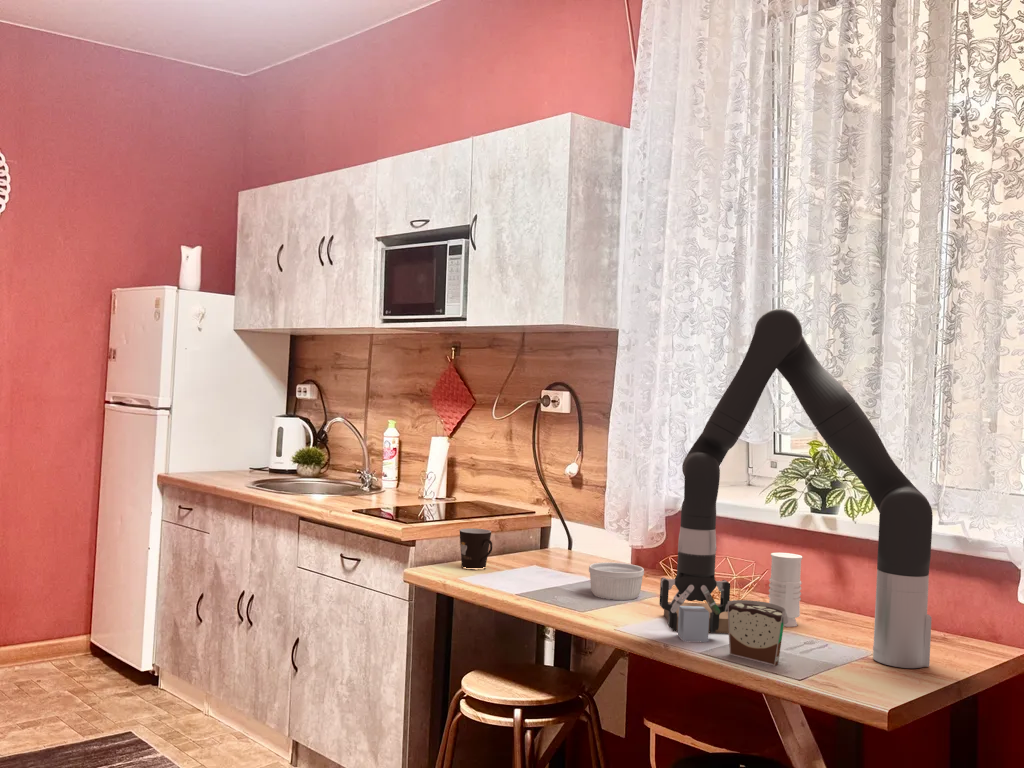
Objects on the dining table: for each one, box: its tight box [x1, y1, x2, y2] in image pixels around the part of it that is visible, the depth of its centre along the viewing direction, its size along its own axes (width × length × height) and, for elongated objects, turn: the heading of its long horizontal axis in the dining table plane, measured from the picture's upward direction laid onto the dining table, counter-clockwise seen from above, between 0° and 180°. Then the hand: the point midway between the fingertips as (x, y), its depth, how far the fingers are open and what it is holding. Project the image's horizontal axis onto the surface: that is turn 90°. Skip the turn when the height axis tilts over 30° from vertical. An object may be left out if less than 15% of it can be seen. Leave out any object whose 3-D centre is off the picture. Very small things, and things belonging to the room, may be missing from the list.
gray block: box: [677, 606, 709, 643], centre depth 192 cm, size 5×5×6 cm
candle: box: [768, 552, 803, 628], centre depth 209 cm, size 7×7×15 cm
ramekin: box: [588, 561, 645, 601], centre depth 229 cm, size 13×13×7 cm
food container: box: [725, 599, 788, 667], centre depth 180 cm, size 12×6×10 cm, turn 48°
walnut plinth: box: [663, 601, 729, 634], centre depth 204 cm, size 14×14×3 cm
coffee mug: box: [459, 527, 493, 568], centre depth 254 cm, size 12×9×10 cm
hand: (692, 631), depth 191 cm, fingers open, 7 cm apart
